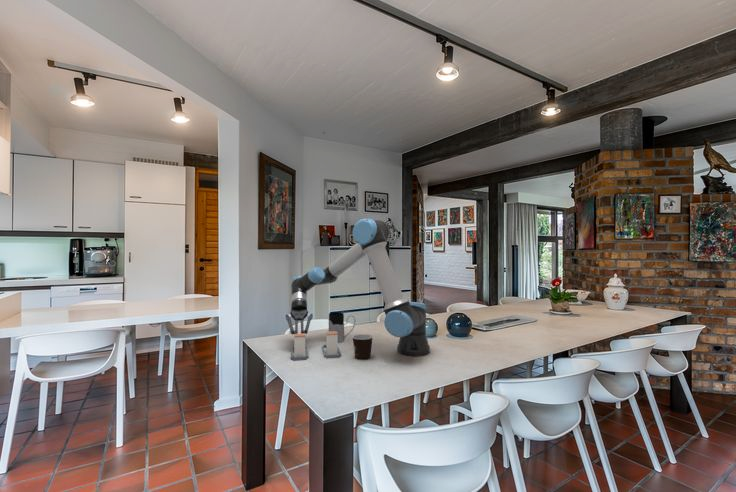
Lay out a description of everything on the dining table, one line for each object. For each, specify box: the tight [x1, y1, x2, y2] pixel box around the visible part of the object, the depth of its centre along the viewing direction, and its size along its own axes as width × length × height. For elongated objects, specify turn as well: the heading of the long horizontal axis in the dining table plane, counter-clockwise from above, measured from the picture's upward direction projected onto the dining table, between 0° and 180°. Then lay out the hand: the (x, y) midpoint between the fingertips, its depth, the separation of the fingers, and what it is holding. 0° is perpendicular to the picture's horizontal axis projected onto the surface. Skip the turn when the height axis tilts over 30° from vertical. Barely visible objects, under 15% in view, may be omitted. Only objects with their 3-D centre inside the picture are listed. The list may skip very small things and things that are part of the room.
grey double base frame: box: [290, 343, 342, 362], centre depth 156 cm, size 18×22×2 cm
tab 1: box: [293, 332, 306, 357], centre depth 150 cm, size 4×5×10 cm
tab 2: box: [325, 331, 339, 355], centre depth 154 cm, size 4×5×10 cm
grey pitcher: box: [328, 312, 356, 344], centre depth 176 cm, size 9×14×15 cm, turn 104°
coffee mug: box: [352, 334, 373, 361], centre depth 151 cm, size 12×9×10 cm
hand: (299, 347), depth 154 cm, fingers closed
